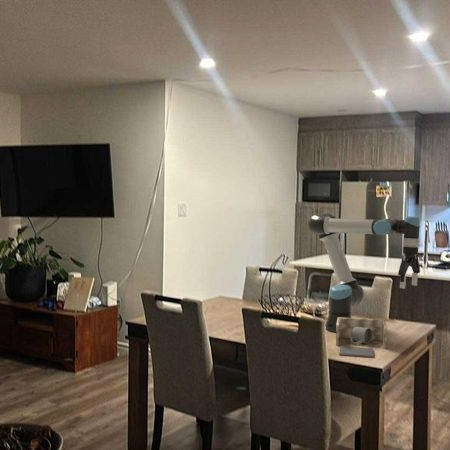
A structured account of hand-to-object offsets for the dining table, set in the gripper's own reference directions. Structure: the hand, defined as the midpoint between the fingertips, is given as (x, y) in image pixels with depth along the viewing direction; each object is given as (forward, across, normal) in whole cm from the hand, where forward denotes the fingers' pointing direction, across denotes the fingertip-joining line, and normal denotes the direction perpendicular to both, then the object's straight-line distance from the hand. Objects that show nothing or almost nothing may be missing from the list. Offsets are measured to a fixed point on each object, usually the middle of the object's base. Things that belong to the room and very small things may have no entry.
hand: (408, 286), depth 295 cm
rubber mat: (+25, -50, 0) cm, 56 cm away
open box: (+25, -32, +8) cm, 42 cm away
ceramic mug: (+26, -33, +8) cm, 43 cm away
